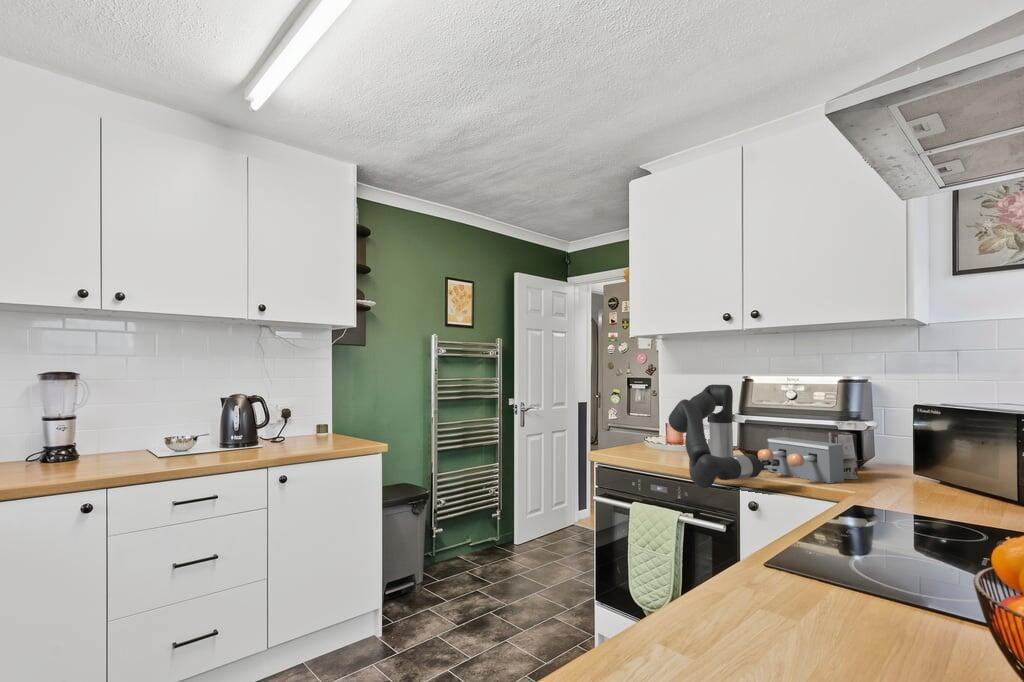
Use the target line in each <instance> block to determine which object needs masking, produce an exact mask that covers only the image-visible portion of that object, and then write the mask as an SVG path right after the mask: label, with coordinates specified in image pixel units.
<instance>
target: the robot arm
mask: <svg viewBox="0 0 1024 682" xmlns="http://www.w3.org/2000/svg"><path fill="white" fill-rule="evenodd" d="M733 398H734V393H733V388H732V386H731V385H729V384H709V385H707V386H706V387H704V389H703V390H702V391H701V392H699V393H698V394H696V395H694V396H693V397H691V398H690V399H681V400H680V401H679V402H678V403H677V404H676V405H675V407H674V408H673V409H672V411H671V412H670V414H669V416H668V423H669V426H670V427H671V428H672V429H673V430H674V431H676V432H678V433H680V434H684V433H685V441H684V442H685V443H684V444H685V449H686V452H687V455H688V458H689V459H688V460H689V462H688V465H689V466H688V467H689V469H688V470H689V471H688V472H689V476H690V480H691V481H692V482H693V483H694V485H695V486H697V487H698V488H700V489H708V488H710V487H712V485H713V484H714V482H715V480H716V479H717V478H718V479H719V480H721V481H730V480H731V481H733V480H743V479H751V478H756V477H758V476H759V475H760V474H761V473H762V472H765V471H769V469H771V470H773V471H775V472H776V471H777V466H779V465H780V461H779V460H778V459H770V460H768V459H762V458H758V456H756V455H754V454H752V453H751V454H750V453H748V454H737V455H734V435H733V434H734V433H733V432H734V431H733V403H734V402H733V400H734V399H733ZM716 407H722V409H721V410H720V411H719V412H717V413H714V412H715V410H716ZM708 417H709V418H708ZM706 418H708V422H709V438H708V439H707V438H706V436H705V435H706V434H705V429H704V420H705V419H706Z"/></svg>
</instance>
